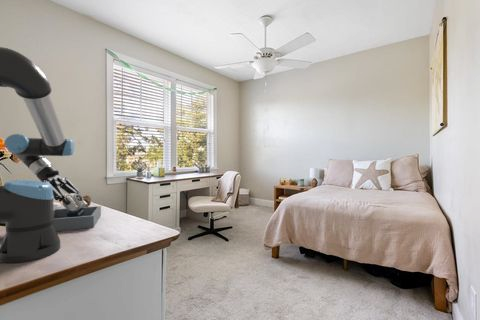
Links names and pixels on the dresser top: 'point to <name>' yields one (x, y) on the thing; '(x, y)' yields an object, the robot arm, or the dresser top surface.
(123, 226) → the dresser top surface
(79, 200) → the watch
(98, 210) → the tray
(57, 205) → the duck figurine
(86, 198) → the lion figurine
